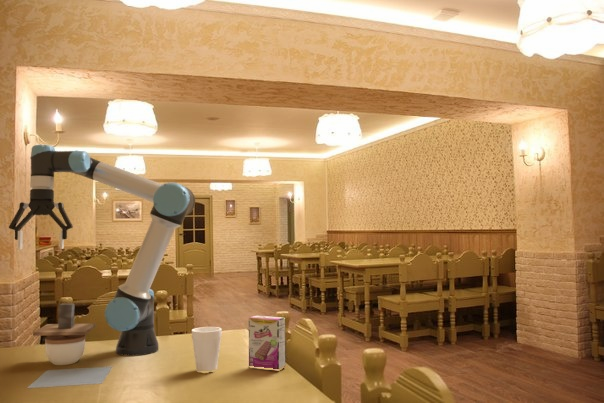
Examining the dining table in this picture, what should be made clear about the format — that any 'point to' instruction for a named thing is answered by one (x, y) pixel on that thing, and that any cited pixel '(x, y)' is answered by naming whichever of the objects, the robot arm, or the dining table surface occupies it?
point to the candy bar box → (267, 342)
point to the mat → (71, 377)
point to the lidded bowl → (64, 348)
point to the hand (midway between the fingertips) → (40, 249)
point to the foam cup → (206, 347)
